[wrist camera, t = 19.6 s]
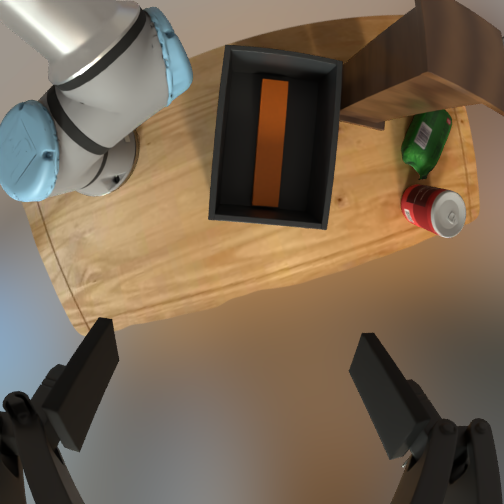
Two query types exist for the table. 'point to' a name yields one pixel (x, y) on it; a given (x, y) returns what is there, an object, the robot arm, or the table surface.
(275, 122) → the orange bar
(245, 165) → the dark grey open box
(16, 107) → the robot arm
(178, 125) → the table surface
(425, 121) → the snack package
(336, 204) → the table surface
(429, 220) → the canned food
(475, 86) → the wooden pedestal column
